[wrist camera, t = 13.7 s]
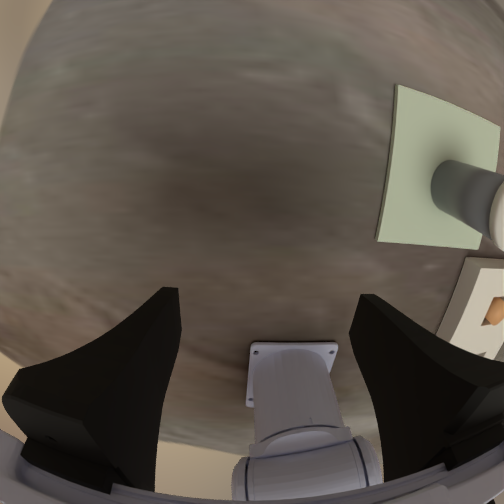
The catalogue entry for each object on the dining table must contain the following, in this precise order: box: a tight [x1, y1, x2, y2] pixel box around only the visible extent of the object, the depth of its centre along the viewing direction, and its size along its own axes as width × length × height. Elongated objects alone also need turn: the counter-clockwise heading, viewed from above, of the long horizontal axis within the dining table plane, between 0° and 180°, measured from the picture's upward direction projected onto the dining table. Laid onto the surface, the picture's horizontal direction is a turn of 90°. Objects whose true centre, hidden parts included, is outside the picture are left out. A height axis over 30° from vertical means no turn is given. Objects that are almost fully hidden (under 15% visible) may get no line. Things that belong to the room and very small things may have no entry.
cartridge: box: [431, 160, 504, 251], centre depth 15 cm, size 5×5×8 cm
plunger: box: [485, 297, 504, 326], centre depth 23 cm, size 3×3×2 cm
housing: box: [436, 257, 504, 360], centre depth 25 cm, size 19×12×2 cm, turn 176°
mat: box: [375, 85, 500, 250], centre depth 19 cm, size 12×12×1 cm
